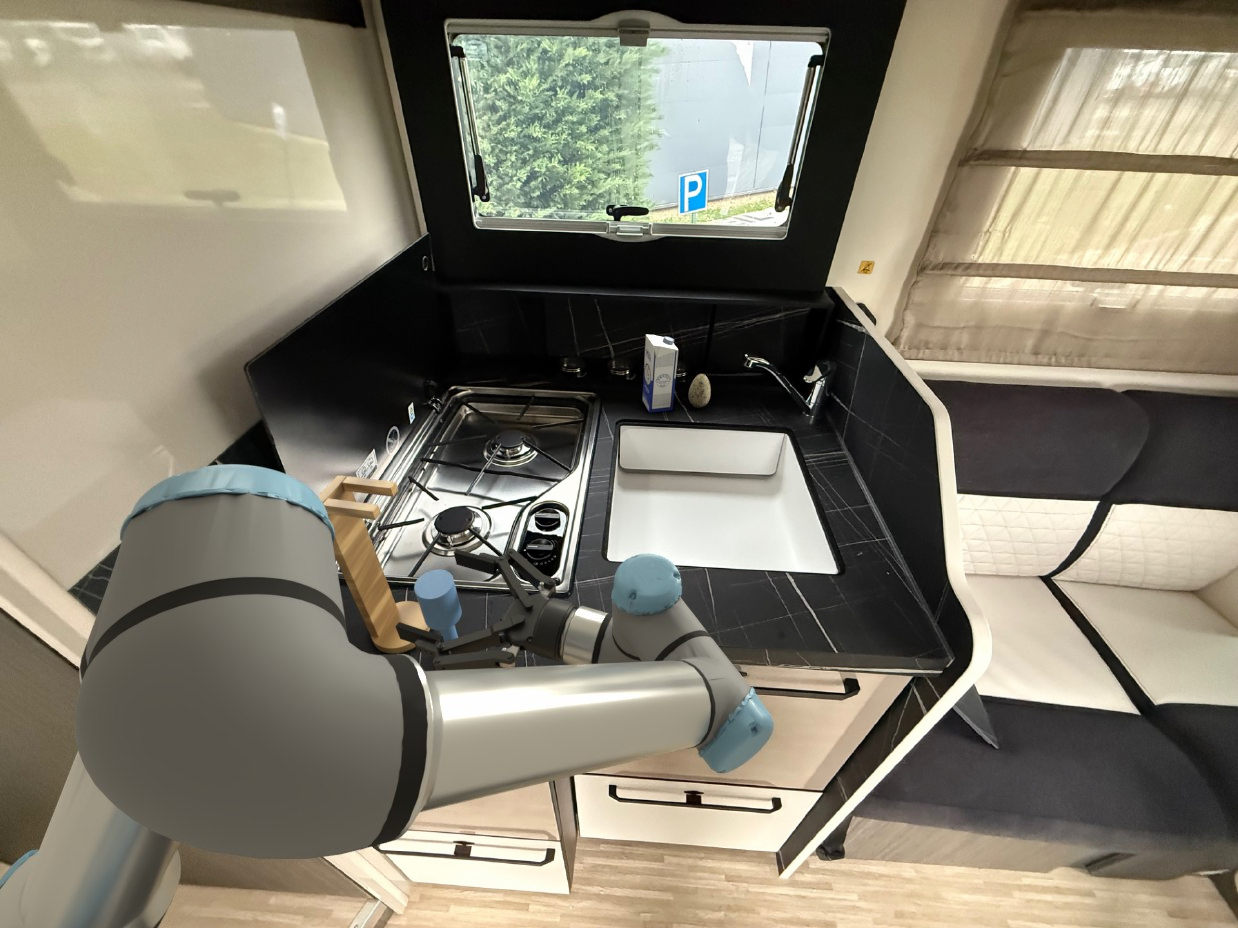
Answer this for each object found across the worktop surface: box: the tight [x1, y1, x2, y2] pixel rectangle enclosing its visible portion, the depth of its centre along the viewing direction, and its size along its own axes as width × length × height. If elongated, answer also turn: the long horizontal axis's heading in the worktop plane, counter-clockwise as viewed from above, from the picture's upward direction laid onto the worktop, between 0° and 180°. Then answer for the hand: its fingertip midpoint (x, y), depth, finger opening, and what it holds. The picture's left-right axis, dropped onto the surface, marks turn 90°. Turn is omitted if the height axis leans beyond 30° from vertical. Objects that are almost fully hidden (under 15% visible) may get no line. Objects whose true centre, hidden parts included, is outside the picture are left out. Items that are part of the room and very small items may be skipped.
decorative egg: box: [688, 373, 712, 409], centre depth 142 cm, size 6×6×10 cm
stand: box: [317, 474, 431, 655], centre depth 77 cm, size 10×9×30 cm
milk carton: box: [641, 334, 679, 414], centre depth 139 cm, size 7×7×20 cm
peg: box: [413, 568, 463, 642], centre depth 77 cm, size 5×5×18 cm
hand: (429, 590), depth 73 cm, fingers open, 13 cm apart
